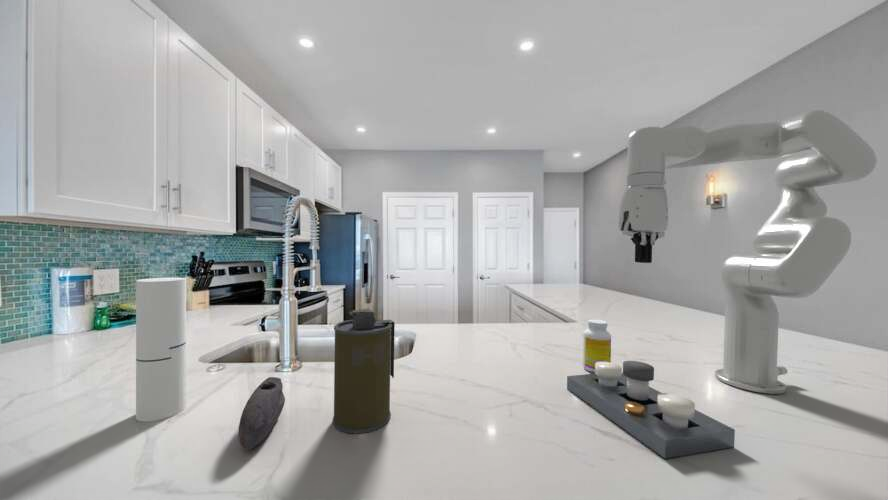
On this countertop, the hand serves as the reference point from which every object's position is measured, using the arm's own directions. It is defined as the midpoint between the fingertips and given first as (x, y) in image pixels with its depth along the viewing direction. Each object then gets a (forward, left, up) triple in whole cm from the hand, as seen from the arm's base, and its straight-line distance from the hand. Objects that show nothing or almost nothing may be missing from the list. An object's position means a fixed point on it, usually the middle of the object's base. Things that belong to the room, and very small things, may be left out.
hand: (643, 262), depth 76 cm
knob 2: (+11, +19, -29) cm, 36 cm away
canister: (+63, +1, -29) cm, 69 cm away
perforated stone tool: (+80, +2, -29) cm, 85 cm away
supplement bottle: (+3, -11, -29) cm, 31 cm away
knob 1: (+11, +3, -29) cm, 31 cm away
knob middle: (+11, +11, -26) cm, 30 cm away
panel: (+11, +10, -29) cm, 33 cm away
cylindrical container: (+100, -9, -29) cm, 105 cm away
